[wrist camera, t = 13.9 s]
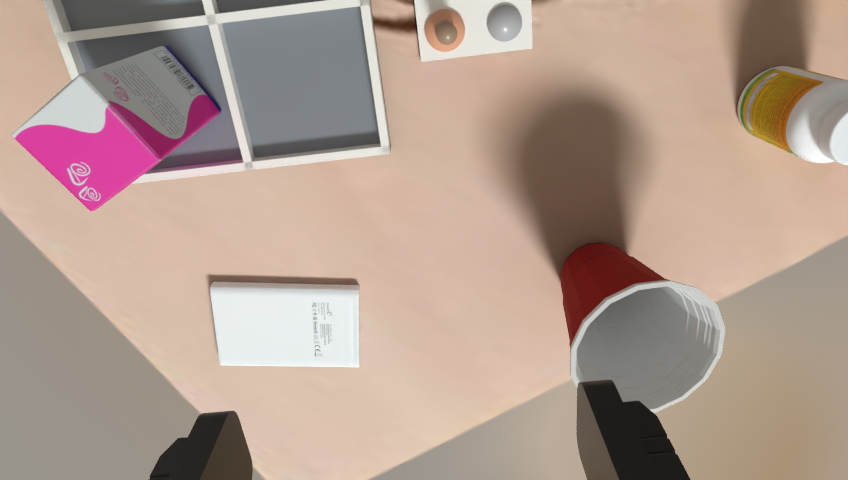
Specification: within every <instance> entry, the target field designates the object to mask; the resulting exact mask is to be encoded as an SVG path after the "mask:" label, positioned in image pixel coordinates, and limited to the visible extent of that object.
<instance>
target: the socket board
mask: <svg viewBox="0 0 848 480" xmlns="http://www.w3.org/2000/svg"><path fill="white" fill-rule="evenodd" d="M43 3H44V6H45V8H46V11H47V14H48V16H49V19H50V22H51V25H52V27H53V30H54V33H55V36H56V38H57V41H58V44H59V47H60V49H61V52H62V55H63V58H64V60H65V63H66V66H67V69H68V71H69V74H70V77H71V79H72V80H73V79H74V78H76V77H77V76H78V75H79V74H82V73H85V72H88V71H91V70H94V69H96V68H99V67H102V66H105V65H108V64H111V63H114V62H116V61H119V60H123V59H125V58H128V57H131V56H134V55H136V54H139V53H142V52H145V51H148V50H151V49H154V48H157V47H159V46H163V45H168V47H169V48H170V49H171V50H172V51H173V53H174V54H175V55H176V56H177V57H178V58H179V59H180V61H181V62H182V63H183V64H184V65H185V66H186V68H187V69H188V70H189V71H190V72H191V73H192V75H193V76H194V77H195V78H196V79H197V80H198V82H199V83H200V84H201V85H202V86H203V88H204V89H205V90H206V91H207V92H208V94H209V95H210V96H211V97H212V98H213V100H214V101H215V102H216V103H217V104H218V106H219V107H220V108H221V110H222V111H221V113H220V114H219V115H218V116H217V117H215V118H214V119H213V120H212V121H210V122H209V123H208V124H207V125H205V126H204V127H203V128H201V129H200V130H199V131H198V132H196V133H195V134H194V135H193V136H192V137H190V138H189V139H188V140H187V141H185V142H184V143H183V144H182V145H180V146H179V147H178V148H176V149H175V150H174V151H173V152H172V153H170V154H169V155H168V156H167V157H165V158H164V159H163V160H162V161H160V162H159V163H158V164H157V165H155V166H154V167H153V168H151V169H150V170H149V171H147V172H146V173H145V174H143V175H142V176H141V177H139V178H138V179H136V180H135V181H134V182H132V183H131V184H134V183H143V182H151V181H160V180H168V179H177V178H186V177H194V176H203V175H211V174H220V173H229V172H237V171H246V170H254V169H263V168H272V167H280V166H289V165H297V164H306V163H315V162H323V161H332V160H340V159H349V158H358V157H366V156H375V155H383V154H390V151H391V143H390V136H389V129H388V122H387V115H386V107H385V100H384V93H383V86H382V79H381V72H380V64H379V57H378V50H377V43H376V36H375V29H374V22H373V14H372V7H371V0H43Z"/></svg>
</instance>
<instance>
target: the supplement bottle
mask: <svg viewBox="0 0 848 480" xmlns="http://www.w3.org/2000/svg"><path fill="white" fill-rule="evenodd" d="M738 118H739V121H740V124H741V125H742V127H743V128H744V129H745V130H746V131H747V132H748V133H749V134H751V135H753V136H755V137H757V138H759V139H762V140H764V141H766V142H768V143H770V144H772V145H775V146H777V147H779V148H781V149H783V150H785V151H787V152H789V153H792V154H794V155H796V156H798V157H800V158H802V159H804V160H807V161H810V162H815V163H829V162H834V161H836V162H839V163H841V164H845V165H848V80H843V79H839V78H835V77H831V76H827V75H823V74H819V73H815V72H811V71H807V70H804V69H799V68H795V67H789V66H778V67H773V68H770V69H767V70H765V71H763V72H761V73H760V74H758V75H757V76H756V77H754V78H753V79H752V80H751V81H750V82H749V83H748V84H747V86H746V87H745V88H744V90H743V92H742V94H741V96H740V99H739V103H738Z"/></svg>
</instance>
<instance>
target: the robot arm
mask: <svg viewBox="0 0 848 480" xmlns="http://www.w3.org/2000/svg"><path fill="white" fill-rule="evenodd" d="M577 441H578V448H579V453H580V458H581V461H582V464H583V467H584V470H585V474H586V477H587V480H690V478H689V476H688V474H687V472H686V471H685V468H684V466H683V465H682V463H681V461H680V459H679V457H678V455H676V454H675V449H674V448H673V446H672V444H671V442H670V440H669V439H667V434H666V432H665V430H664V429H663V427H662V425H661V423H660V421H659V419H658V417H657V416H656V415H655V414H654V413H653V412H652V411H650V410H649V409H648V408H647V407H646V406H645V405H644V404H642V403H641V402H640V401H628V402H623V401H622V399H621V397H620V394H619V392H618V390H617V388H616V386H615V384H614V382H613V381H612V380H599V381H587V382H579V383H578V387H577ZM150 480H252V460H251V456H250V452H249V449H248V446H247V443H246V440H245V437H244V433H243V430H242V427H241V424H240V421H239V418H238V415H237V413H236V412H234V411H225V412H213V413H203V414H201V415H199V417H198V418H197V420H196V422H195V424H194V426H193V428H192V430H191V432H190V434H189V436H188V437H187V438H178V439H177V440H176V441H175V442H174V443H173V444H172V445H171V446H170V447H169V448H168V449H167V450H166V451H165V452H164V453H163V454H162V455H161V456H160V458H159V460H158V461H157V464H156V465H155V467H154V469H153V471H152V473H151V475H150Z"/></svg>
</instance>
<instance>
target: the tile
mask: <svg viewBox="0 0 848 480" xmlns="http://www.w3.org/2000/svg"><path fill="white" fill-rule="evenodd" d="M414 3H415V12H416V21H417V30H418V39H419V48H420V57H421V62H424V61H432V60H440V59H449V58H457V57H465V56H474V55H482V54H490V53H499V52H507V51H515V50H524V49H532V15H531V0H414Z"/></svg>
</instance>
